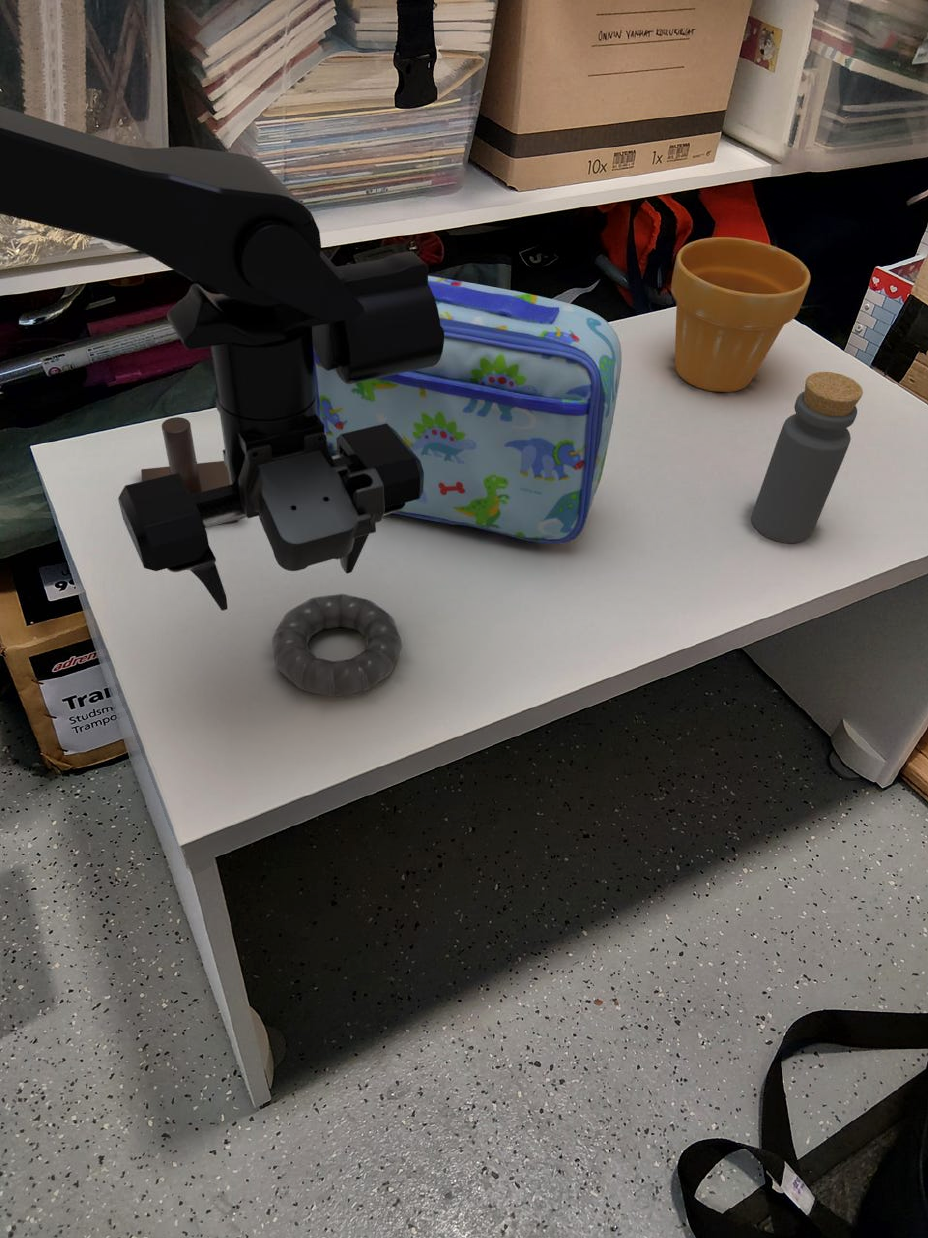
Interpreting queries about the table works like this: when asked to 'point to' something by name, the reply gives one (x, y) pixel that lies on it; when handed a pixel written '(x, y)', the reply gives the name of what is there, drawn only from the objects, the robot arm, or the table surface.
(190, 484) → the peg stand
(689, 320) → the flower pot
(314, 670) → the ring
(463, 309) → the lunch box
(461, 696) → the table surface
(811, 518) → the bottle
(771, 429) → the table surface
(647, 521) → the table surface
